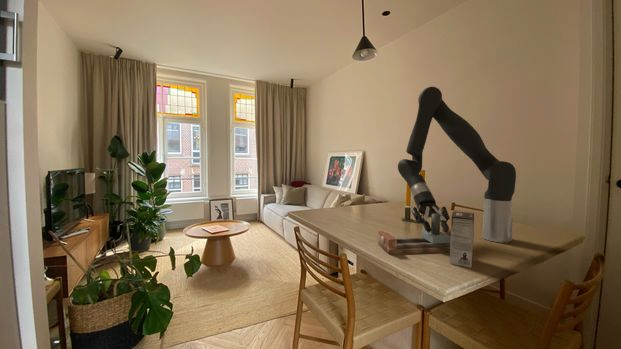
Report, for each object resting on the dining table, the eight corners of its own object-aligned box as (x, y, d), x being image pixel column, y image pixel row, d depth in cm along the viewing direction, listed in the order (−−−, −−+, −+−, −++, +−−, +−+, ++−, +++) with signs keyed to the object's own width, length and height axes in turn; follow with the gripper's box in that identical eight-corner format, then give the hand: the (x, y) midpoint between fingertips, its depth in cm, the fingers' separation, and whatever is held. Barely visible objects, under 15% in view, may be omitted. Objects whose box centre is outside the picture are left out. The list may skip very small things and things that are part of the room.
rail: (449, 241, 102) (449, 228, 101) (466, 251, 92) (467, 236, 91) (377, 244, 99) (377, 231, 98) (387, 254, 89) (387, 239, 88)
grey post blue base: (437, 236, 100) (438, 211, 99) (450, 242, 92) (451, 216, 91) (421, 236, 99) (421, 212, 99) (432, 243, 91) (433, 217, 91)
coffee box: (450, 254, 89) (452, 210, 88) (471, 258, 85) (474, 212, 84) (449, 264, 81) (451, 215, 80) (472, 268, 78) (475, 218, 76)
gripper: (409, 190, 101) (424, 227, 90) (442, 190, 102) (461, 225, 92) (403, 201, 107) (416, 236, 96) (434, 200, 108) (451, 235, 97)
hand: (438, 231), depth 94 cm, fingers open, 6 cm apart
